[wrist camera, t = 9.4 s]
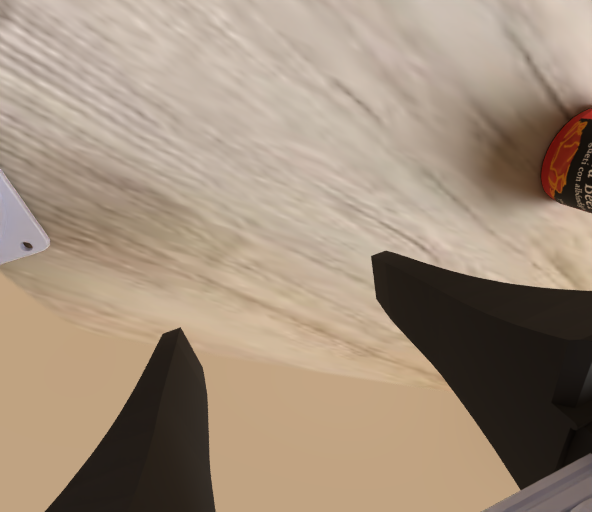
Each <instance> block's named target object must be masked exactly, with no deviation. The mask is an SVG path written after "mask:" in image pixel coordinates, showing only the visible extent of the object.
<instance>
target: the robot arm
mask: <svg viewBox="0 0 592 512" xmlns="http://www.w3.org/2000/svg"><path fill="white" fill-rule="evenodd" d="M23 242H28V243H30V244H31V245H32V247H33V248H27V247H25V246H24V244H23ZM49 245H50V239H49V237H48V236H47V234H46V233H45V231H44V230H43V229H42V227H41V226H40V224H39V223H38V221H37V220H36V218H35V217H34V216H33V214H32V213H31V211H30V210H29V208H28V207H27V206H26V204H25V203H24V201H23V200H22V198H21V197H20V196H19V194H18V193H17V191H16V190H15V188H14V187H13V186H12V184H11V183H10V181H9V180H8V178H7V177H6V175H5V174H4V173H3V171H2V170H1V168H0V265H1V264H4V263H7V262H11V261H14V260H17V259H20V258H23V257H26V256H29V255H33V254H36V253H39V252H42V251H44V250H46V249H47V248H48V247H49ZM371 259H372V267H373V275H374V283H375V291H376V299H377V300H378V302H379V303H380V305H381V306H382V308H383V309H384V311H385V312H386V313H387V315H388V316H389V317H390V319H391V320H392V321H393V322H394V323H395V324H396V326H397V327H398V328H399V329H400V330H401V331H402V332H403V333H404V334H405V335H406V336H407V338H408V339H409V340H410V341H411V342H412V343H413V344H414V345H415V346H416V347H417V348H418V349H419V350H420V351H421V353H422V354H423V355H424V356H425V357H426V358H427V359H428V360H429V361H430V362H431V363H432V365H433V366H434V367H435V368H436V369H437V370H438V372H439V373H440V374H441V375H442V377H443V378H444V379H445V381H446V382H447V383H448V385H449V386H450V387H451V389H452V390H453V391H454V393H455V394H456V395H457V397H458V398H459V399H460V401H461V402H462V404H463V405H464V406H465V408H466V409H467V410H468V412H469V413H470V415H471V416H472V417H473V419H474V420H475V422H476V423H477V425H478V426H479V427H480V429H481V430H482V432H483V433H484V435H485V436H486V438H487V439H488V441H489V442H490V444H491V445H492V446H493V448H494V449H495V451H496V452H497V454H498V455H499V457H500V458H501V460H502V462H503V463H504V465H505V466H506V468H507V469H508V471H509V472H510V474H511V476H512V477H513V479H514V480H515V482H516V483H517V485H518V487H519V488H520V490H521V491H519V492H517V493H515V494H513V495H511V496H509V497H508V498H506V499H504V500H502V501H500V502H498V503H496V504H495V505H493V506H491V507H489V508H487V509H485V510H483V511H482V512H592V291H579V290H563V289H550V288H540V287H532V286H524V285H516V284H509V283H503V282H498V281H492V280H487V279H482V278H477V277H473V276H469V275H465V274H461V273H457V272H453V271H450V270H446V269H443V268H439V267H436V266H433V265H430V264H426V263H423V262H420V261H417V260H414V259H411V258H408V257H405V256H402V255H399V254H396V253H393V252H389V251H384V252H381V253H378V254H376V255H373V256H371ZM208 432H209V431H208V402H207V390H206V384H205V378H204V372H203V367H202V366H201V364H200V362H199V360H198V358H197V356H196V355H195V353H194V351H193V349H192V347H191V345H190V344H189V342H188V340H187V338H186V336H185V335H184V333H183V331H182V329H181V327H180V328H178V329H175V330H172V331H170V332H167V333H164V334H163V335H162V337H161V339H160V340H159V342H158V344H157V346H156V348H155V350H154V352H153V354H152V356H151V358H150V360H149V363H148V364H147V366H146V368H145V370H144V372H143V374H142V376H141V377H140V379H139V381H138V383H137V385H136V387H135V389H134V390H133V392H132V394H131V396H130V397H129V399H128V400H127V402H126V404H125V406H124V407H123V409H122V411H121V412H120V414H119V416H118V417H117V419H116V420H115V422H114V423H113V425H112V426H111V428H110V429H109V431H108V432H107V434H106V435H105V436H104V438H103V439H102V441H101V442H100V444H99V445H98V446H97V448H96V449H95V450H94V452H93V453H92V455H91V456H90V457H89V458H88V460H87V461H86V462H85V464H84V465H83V466H82V467H81V469H80V470H79V471H78V472H77V474H76V475H75V476H74V478H73V479H72V480H71V481H70V482H69V484H68V485H67V486H66V488H65V489H64V490H63V491H62V492H61V494H60V495H59V496H58V497H57V498H56V499H55V501H54V502H53V503H52V504H51V505H50V506H49V508H48V509H47V510H46V511H45V512H215V505H214V497H213V490H212V482H211V474H210V461H209V433H208Z"/></svg>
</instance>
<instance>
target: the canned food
mask: <svg viewBox="0 0 592 512" xmlns="http://www.w3.org/2000/svg"><path fill="white" fill-rule="evenodd" d="M541 180H542V186H543V188H544V191H545V192H546V193H547V194H548V196H550V197H551V198H553V199H554V200H555V201H557V202H559V203H560V204H564V205H567V206H570V207H573V208H576V209H580V210H583V211H586V212H589V213H592V109H588V110H586V111H584V112H581V113H580V114H578V115H577V116H575V117H574V118H572V119H571V120H570V121H569V122H568V123H567V124H566V125H565V126H564V127H563V128H562V129H561V130H560V132H559V133H558V134H557V135H556V137H555V138H554V140H553V141H552V143H551V145H550V147H549V149H548V150H547V153H546V155H545V158H544V161H543V166H542V173H541Z"/></svg>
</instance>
